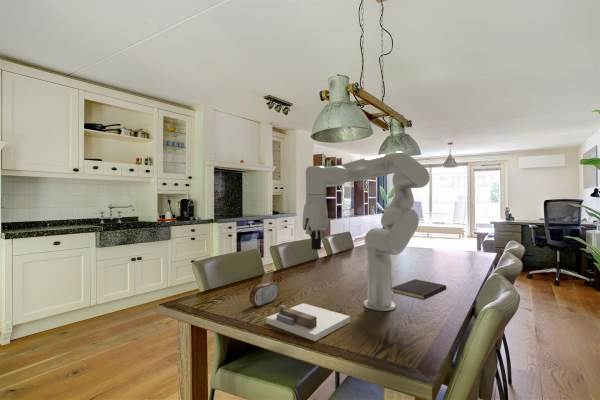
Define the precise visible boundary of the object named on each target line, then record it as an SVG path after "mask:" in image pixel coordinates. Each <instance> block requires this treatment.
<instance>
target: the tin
mask: <svg viewBox="0 0 600 400" xmlns="http://www.w3.org/2000/svg"><path fill="white" fill-rule="evenodd" d="M278 296H279V286H278V284H277V283H276V282H273V281H266V282H264V283H260V284H259V283H258V284H256V285H255V286H253V288H251V290H250V293H249V297H248V298H249V302H250V304H251V306H252V305H253V306H256V307H261V306H264V305H268V304H270V303H272V302H274V301H276V299H278Z"/></svg>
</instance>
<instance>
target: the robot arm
mask: <svg viewBox="0 0 600 400" xmlns="http://www.w3.org/2000/svg"><path fill="white" fill-rule="evenodd" d="M391 174H392V185H393V189H394V196H393V198H392V199H391V201H390V203H389V205H388V206H387V208H386V209H385V210H384V212H383V214H382V216H381V219H380V223H381V224H380V225H381V226H382V228H380V227H375V228H370V229H369V230H368V231H367V232H366V234H365V237H364V245H365V251H366V258H367V261H366V262H367V263H366V264H367V268H366V269H367V272H366V273H367V276H366V277H367V279H366V280H367V299H365V300H364V301H363V306H364V307H365V308H367V309H369V310H373V311H376V312H377V311H378V312H388V311H393V310H394V309H396V305H397V304H396V302H394V301H393V300H392V298H393V297H395V292H392V279H393V278H392V259H391V256H396V255H400V254H401V253H402V252H403V251H404V250H405V249H406V247H407V246H408V245H409V243H410V241H411V239H412V238H413V237H414V234H415V233H416V231H417V229H418V227H419V221H420V220H419V215H418V212H417V211H416V210H415V209H413V206H414V203H415V197H414V193H413V191H412V189H419V188H420V189H421V188H424V187H425V186H427V185H428V184H429V182H430V173H429V171H428V169H427V168H426V167H425V166H424V165H423V164H422V163H420V162H419V161H418V160H416V159H414V157H412V156H411V155H410V154H408V153H406V152H404V151H392V152H388V153H384V154H379V155H375V156H369V157H365V158H360V159H357V160H353V161H350V162H346V163H343V164H338V165H335V166H334V165H332V166H323V165H310V166H308V167H306V169H305V203H304V205H303V206H304V207H303V212H302V230H303V231H305V234H306V235H309V237H310V240H311V249H312V250H316V251H319V250H321V249H322V238H323V234H324V233H326V232H327V229H328V227H329V213H328V205H327V188H329V187H339V186H343V185H344V184H345V183H350V182H360V181H367V180H370V179H371V180H372V179H375V178H379V177H383V176H386V175H391ZM383 227H384V228H383ZM390 255H391V256H390Z"/></svg>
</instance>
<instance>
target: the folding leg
mask: <svg viewBox="0 0 600 400" xmlns="http://www.w3.org/2000/svg"><path fill="white" fill-rule="evenodd" d="M286 306H287V305H284V304H280V305H278V313H279V314H282V315H285V316H288V317H291V318H294V319H295V324H298V325H301V326H304V327H306V328H309V329H312V328H314V327H316V326H317V317H315V316H312V315H309V314H306V313H303V312H299V311H296V310H293V309H290V308H291V307H286Z"/></svg>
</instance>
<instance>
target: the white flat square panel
mask: <svg viewBox="0 0 600 400" xmlns="http://www.w3.org/2000/svg"><path fill="white" fill-rule="evenodd" d="M289 308H290V309H293V310H296V311H299V312H303V313H306V314H309V315H312V316H315V317H317V326H316V327H314V328H312V329H309V328H306V327H304V326H301V325H298V324H295V319H294V318H291V317H288V316H285V315H282V314H279V312H277V313H274V314H271V315H269V316H266V318H265V320H266V321H265V323H266V324H268V325H271V326H273V327H275V328H278V329H280V330H284V331H287V332H289V333H292V334H295V335H297V336H300V337H302V338H304V339H308V340H311V341H312V342H317V341H318V340H320V339H322V338H323V337H325V336H327V335H329V334H331V333H334V332H335V331H337V330H338V329H340V328H342V327H344V326H346V325H347V324H349V323H351V316H350V315H347V314H343V313H340V312H337V311H332V310H329V309H326V308H325V309H324V308H323V307H318V306H314V305H311V304H309V303H305V302H303V303H300V304H297V305H295V306H292V307H289Z"/></svg>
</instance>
